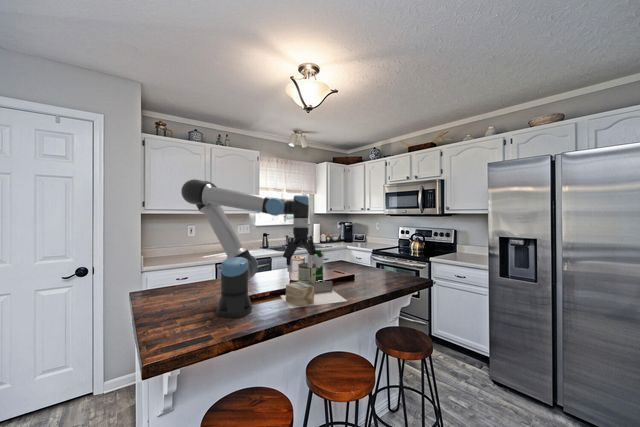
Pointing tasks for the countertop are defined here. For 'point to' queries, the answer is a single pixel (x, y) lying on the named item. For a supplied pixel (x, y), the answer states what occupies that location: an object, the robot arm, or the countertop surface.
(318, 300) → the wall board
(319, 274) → the milk carton
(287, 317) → the countertop surface
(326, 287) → the ledge rail
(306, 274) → the coffee can
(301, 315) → the countertop surface
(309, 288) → the beige rounded block
